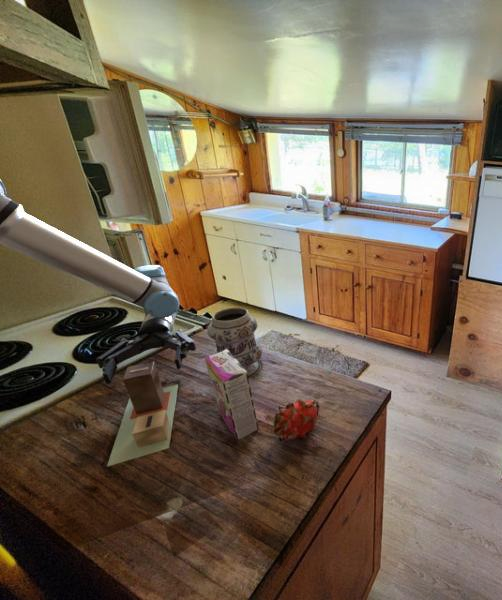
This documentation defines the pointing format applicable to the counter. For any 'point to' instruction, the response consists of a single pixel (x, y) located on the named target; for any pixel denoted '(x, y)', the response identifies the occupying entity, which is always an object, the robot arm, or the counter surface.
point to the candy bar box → (232, 393)
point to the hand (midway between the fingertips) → (143, 371)
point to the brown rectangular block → (144, 387)
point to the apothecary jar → (237, 337)
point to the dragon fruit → (296, 419)
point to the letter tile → (151, 428)
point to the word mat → (125, 441)
